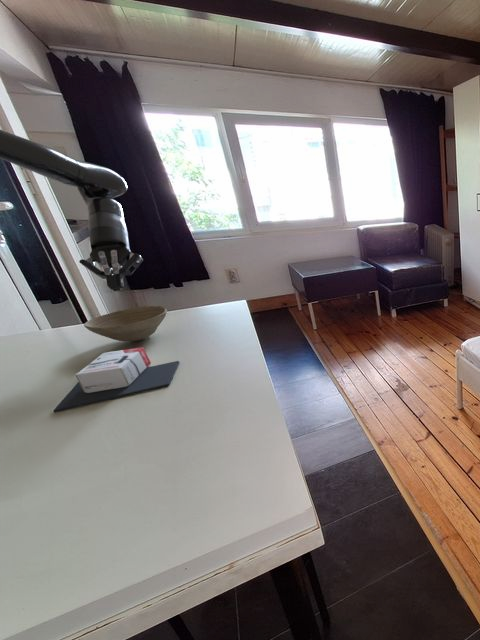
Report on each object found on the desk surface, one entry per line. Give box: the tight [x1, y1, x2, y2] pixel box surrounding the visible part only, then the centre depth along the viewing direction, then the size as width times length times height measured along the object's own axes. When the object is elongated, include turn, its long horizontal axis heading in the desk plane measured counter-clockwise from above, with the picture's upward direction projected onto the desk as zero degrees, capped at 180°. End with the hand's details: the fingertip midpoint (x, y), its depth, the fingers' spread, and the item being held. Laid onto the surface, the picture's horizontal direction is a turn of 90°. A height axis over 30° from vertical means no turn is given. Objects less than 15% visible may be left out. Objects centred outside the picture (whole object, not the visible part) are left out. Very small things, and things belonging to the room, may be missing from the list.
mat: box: [53, 360, 180, 413], centre depth 85 cm, size 20×13×1 cm, turn 117°
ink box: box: [74, 347, 152, 393], centre depth 86 cm, size 8×5×12 cm
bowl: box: [83, 305, 168, 342], centre depth 107 cm, size 18×18×8 cm
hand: (116, 289), depth 94 cm, fingers closed
